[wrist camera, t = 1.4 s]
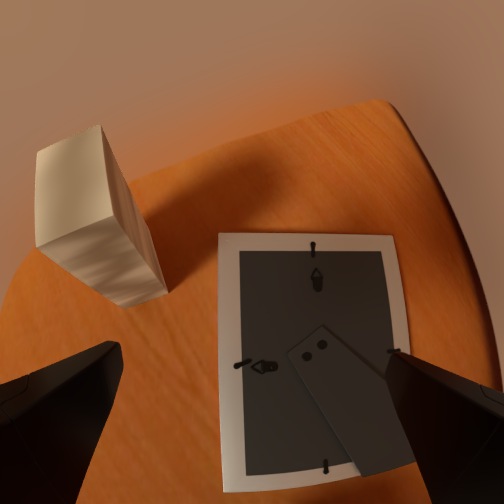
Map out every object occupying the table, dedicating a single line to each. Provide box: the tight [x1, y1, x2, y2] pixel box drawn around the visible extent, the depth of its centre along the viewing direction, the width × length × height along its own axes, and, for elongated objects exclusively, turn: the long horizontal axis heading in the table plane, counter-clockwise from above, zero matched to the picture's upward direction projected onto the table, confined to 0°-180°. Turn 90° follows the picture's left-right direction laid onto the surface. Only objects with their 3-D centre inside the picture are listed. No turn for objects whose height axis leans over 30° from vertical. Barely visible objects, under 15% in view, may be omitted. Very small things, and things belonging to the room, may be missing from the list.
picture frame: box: [218, 233, 416, 492], centre depth 21 cm, size 16×3×21 cm
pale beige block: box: [35, 124, 169, 309], centre depth 18 cm, size 4×6×13 cm, turn 22°
